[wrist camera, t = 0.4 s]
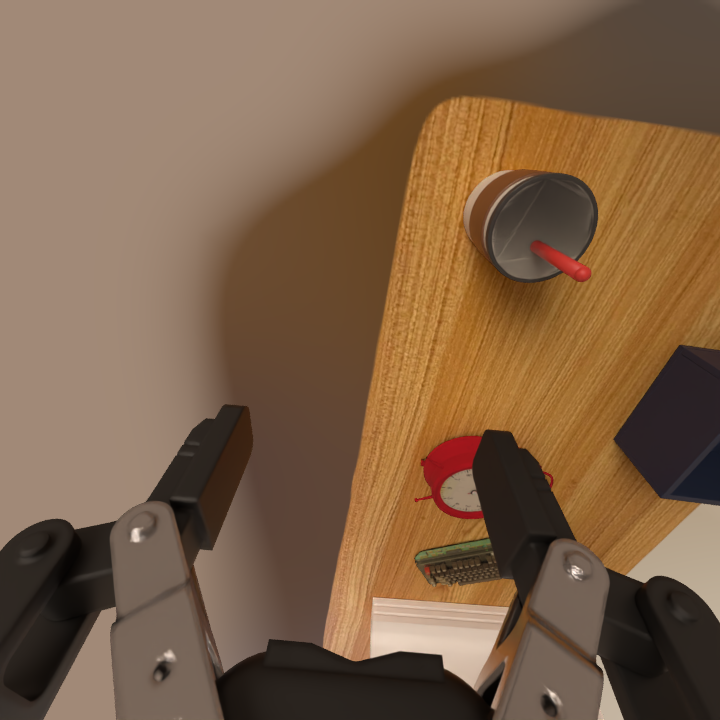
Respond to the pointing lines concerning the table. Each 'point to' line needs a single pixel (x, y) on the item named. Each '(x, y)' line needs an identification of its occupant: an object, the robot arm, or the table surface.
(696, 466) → the bin
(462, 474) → the alarm clock
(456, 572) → the keyboard
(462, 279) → the table surface
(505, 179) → the paper cup
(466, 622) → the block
